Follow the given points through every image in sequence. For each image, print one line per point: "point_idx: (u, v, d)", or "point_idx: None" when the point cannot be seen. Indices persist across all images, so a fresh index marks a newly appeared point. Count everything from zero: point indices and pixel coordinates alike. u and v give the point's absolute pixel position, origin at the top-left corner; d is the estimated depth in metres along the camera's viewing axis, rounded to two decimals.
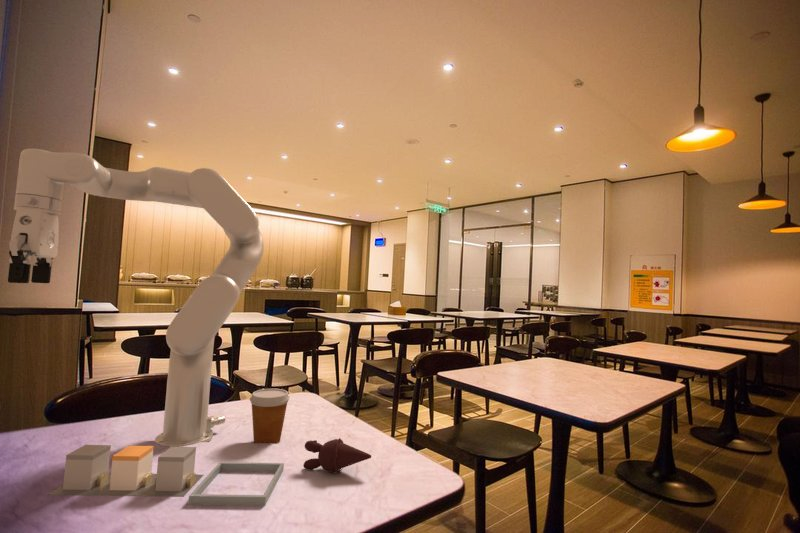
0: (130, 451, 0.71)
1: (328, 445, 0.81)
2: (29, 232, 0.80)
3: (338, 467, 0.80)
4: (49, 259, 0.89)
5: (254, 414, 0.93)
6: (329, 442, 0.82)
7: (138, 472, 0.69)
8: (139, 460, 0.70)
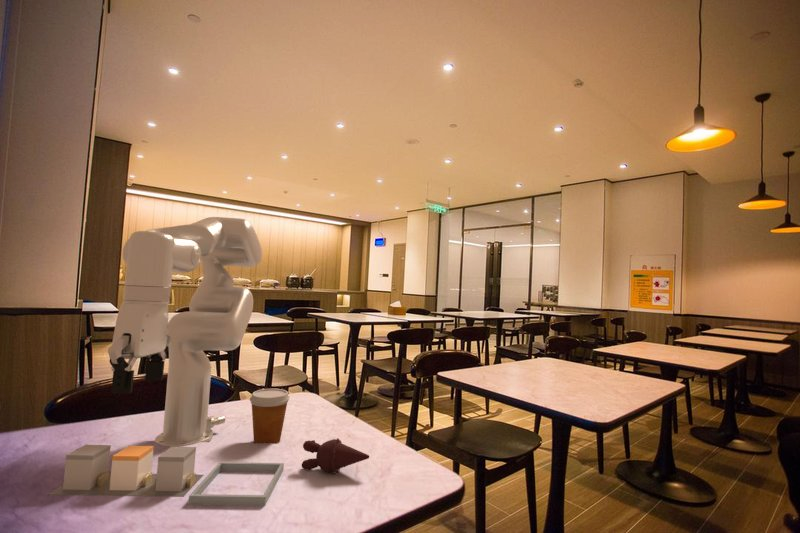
0: (130, 451, 0.71)
1: (326, 445, 0.81)
2: None
3: (336, 467, 0.80)
4: None
5: (254, 414, 0.93)
6: (327, 442, 0.82)
7: (138, 472, 0.69)
8: (139, 460, 0.70)
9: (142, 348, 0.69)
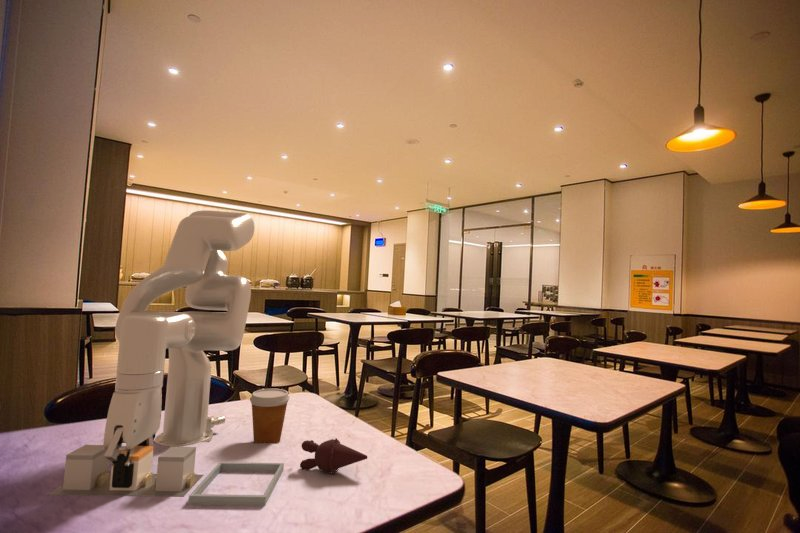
0: None
1: (324, 445, 0.81)
2: None
3: (334, 467, 0.80)
4: None
5: (254, 414, 0.93)
6: (325, 442, 0.82)
7: (138, 472, 0.69)
8: (139, 460, 0.70)
9: (134, 438, 0.68)
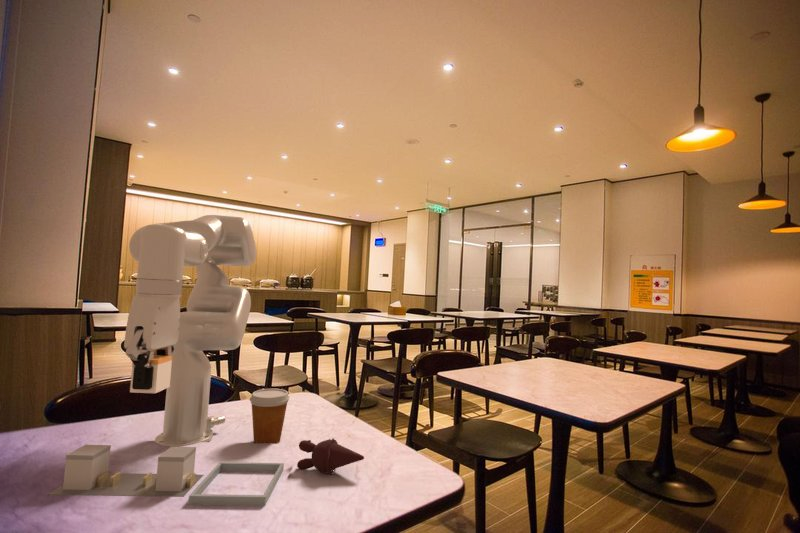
0: None
1: (321, 445, 0.81)
2: None
3: (331, 468, 0.80)
4: None
5: (254, 414, 0.93)
6: (322, 442, 0.82)
7: (157, 375, 0.70)
8: (158, 364, 0.71)
9: (154, 341, 0.69)
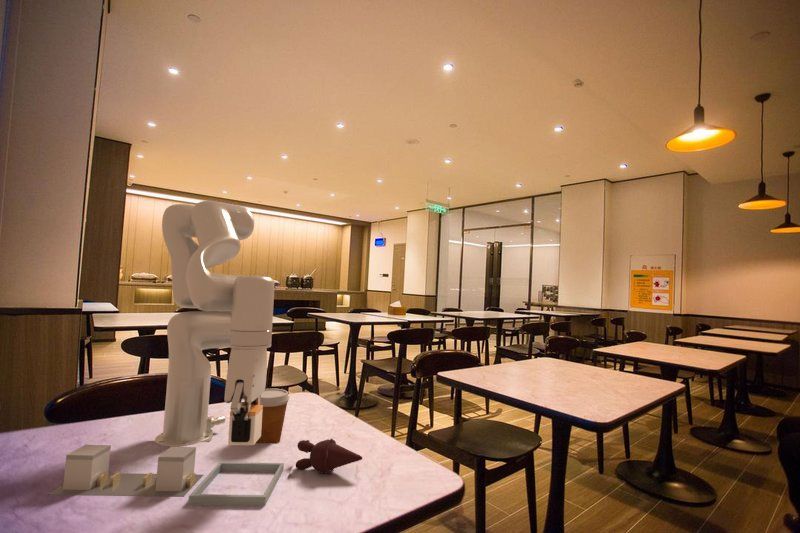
0: (244, 408, 0.72)
1: (319, 445, 0.81)
2: None
3: (329, 468, 0.80)
4: None
5: None
6: (320, 442, 0.82)
7: (254, 427, 0.71)
8: (255, 415, 0.71)
9: (253, 393, 0.70)
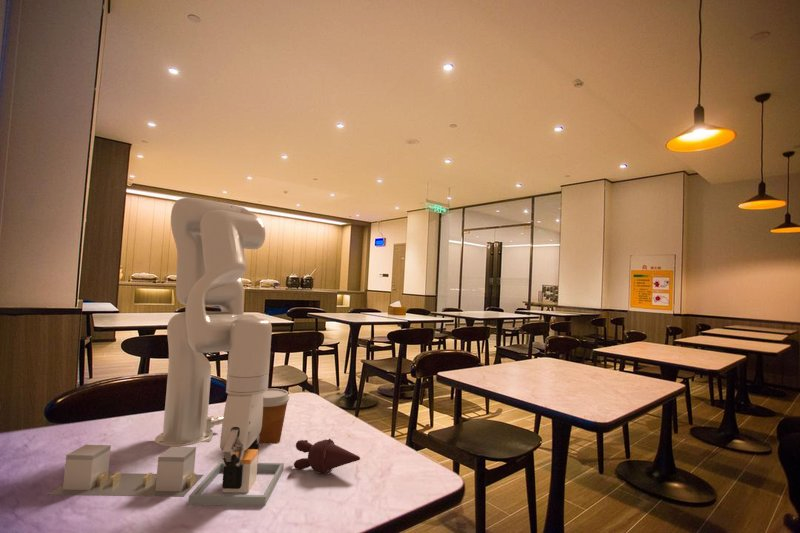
0: None
1: (317, 445, 0.81)
2: None
3: (326, 468, 0.79)
4: None
5: None
6: (318, 442, 0.81)
7: (249, 475, 0.71)
8: (250, 463, 0.71)
9: (249, 440, 0.69)
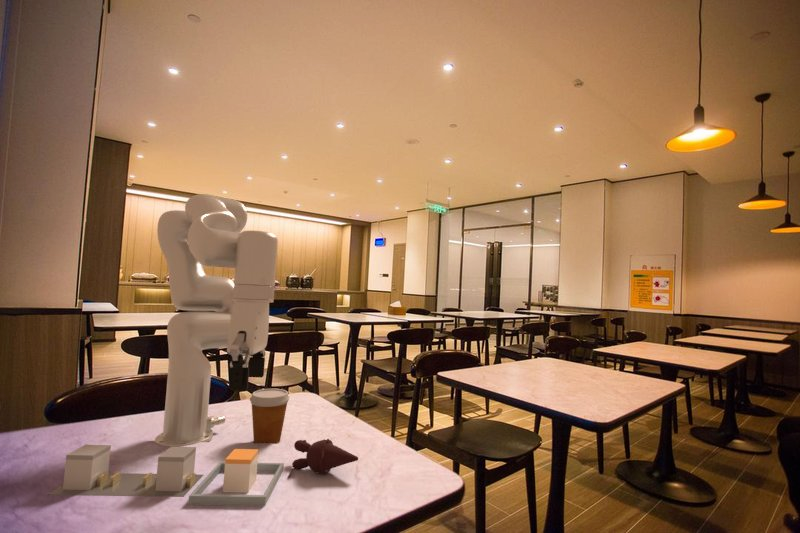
0: (240, 455, 0.72)
1: (315, 445, 0.81)
2: None
3: (325, 468, 0.79)
4: None
5: (254, 414, 0.93)
6: (317, 442, 0.81)
7: (249, 475, 0.71)
8: (250, 463, 0.71)
9: (255, 345, 0.71)
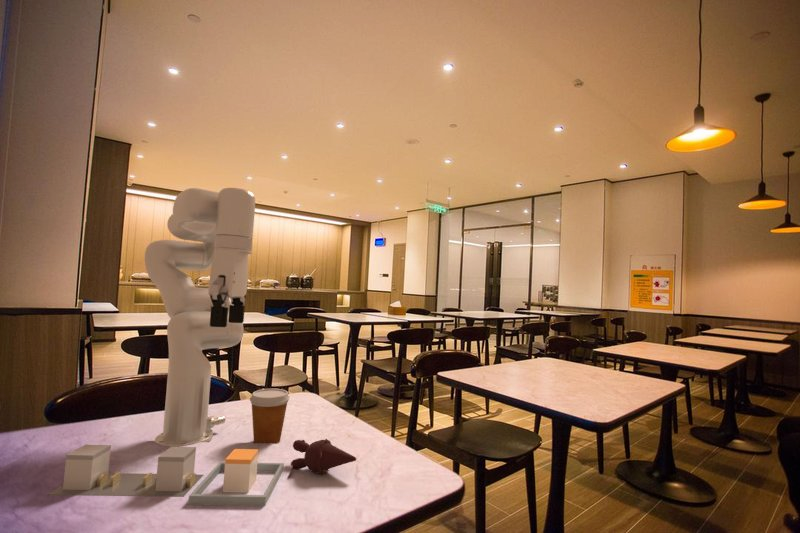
0: (240, 455, 0.72)
1: (313, 445, 0.81)
2: None
3: (323, 468, 0.79)
4: None
5: (254, 414, 0.93)
6: (315, 442, 0.81)
7: (249, 475, 0.71)
8: (250, 463, 0.71)
9: (233, 289, 0.79)
